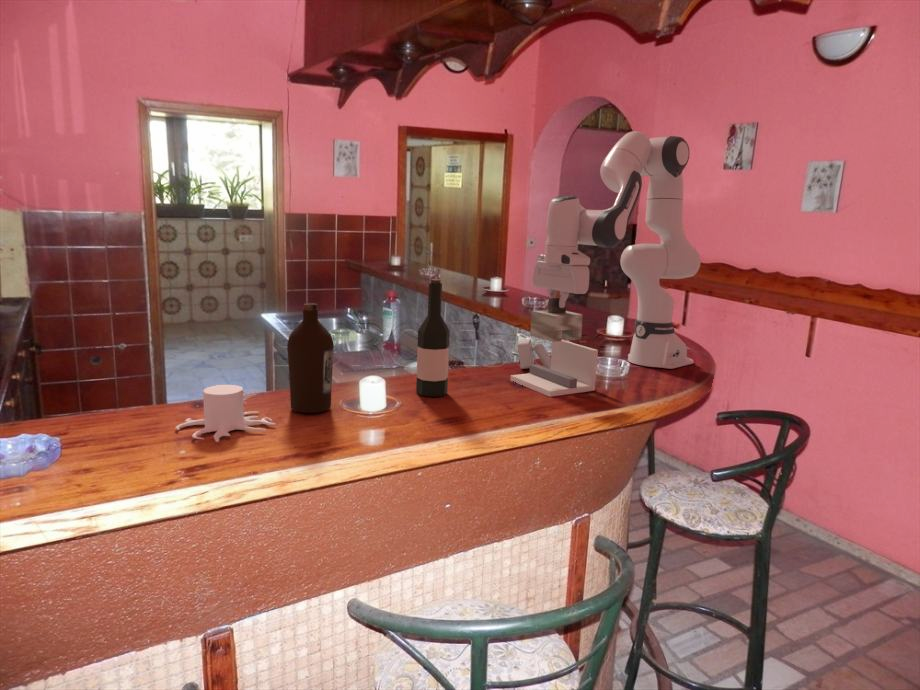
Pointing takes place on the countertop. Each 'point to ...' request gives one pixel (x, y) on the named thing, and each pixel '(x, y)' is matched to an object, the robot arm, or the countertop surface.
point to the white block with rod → (527, 354)
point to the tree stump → (224, 412)
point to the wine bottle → (433, 347)
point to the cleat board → (563, 371)
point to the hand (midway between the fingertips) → (557, 306)
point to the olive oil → (310, 363)
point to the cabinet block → (556, 323)
